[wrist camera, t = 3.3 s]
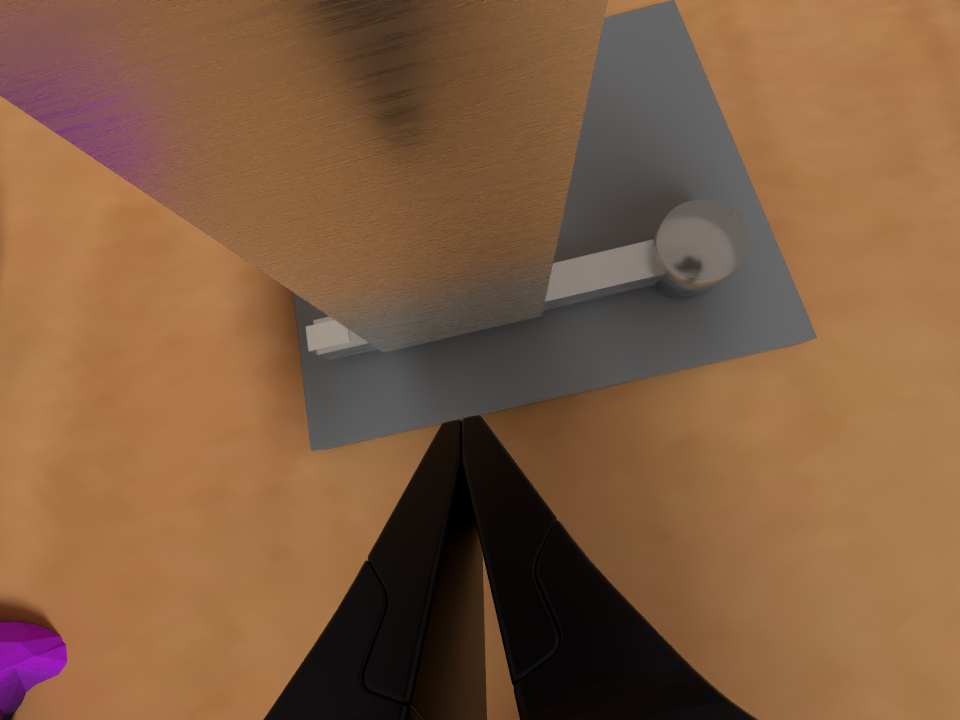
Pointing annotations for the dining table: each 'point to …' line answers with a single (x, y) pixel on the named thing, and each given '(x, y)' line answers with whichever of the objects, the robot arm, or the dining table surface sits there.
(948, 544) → the dining table surface
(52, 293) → the dining table surface
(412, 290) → the frosted block on spoon
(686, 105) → the plate
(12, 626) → the cloth
